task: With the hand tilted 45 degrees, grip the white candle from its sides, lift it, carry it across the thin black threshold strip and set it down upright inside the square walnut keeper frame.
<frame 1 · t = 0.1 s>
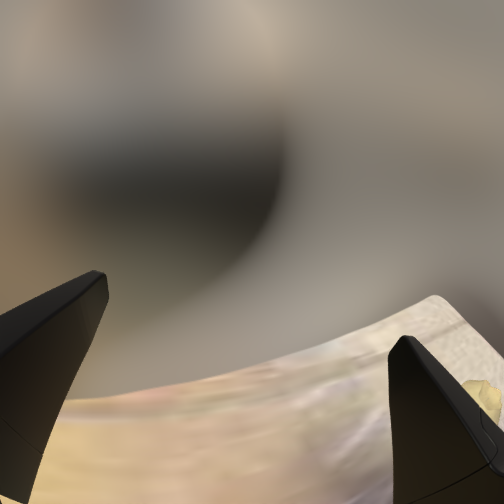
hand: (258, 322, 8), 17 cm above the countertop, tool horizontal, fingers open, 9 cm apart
candle: (419, 451, 19), on the countertop
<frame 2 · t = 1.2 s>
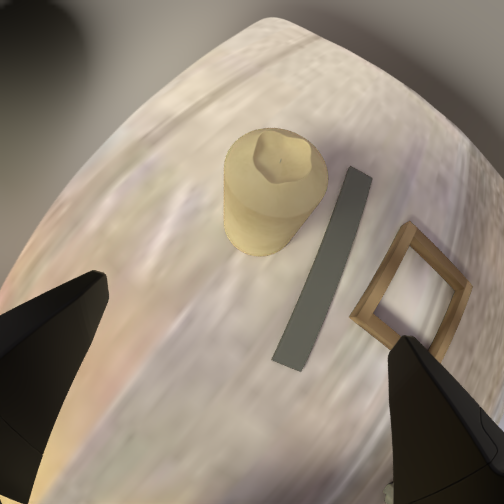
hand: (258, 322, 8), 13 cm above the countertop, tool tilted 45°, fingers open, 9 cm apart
keeper frame: (416, 301, 22), on the countertop
candle: (258, 224, 23), on the countertop
threshold strip: (330, 259, 22), on the countertop
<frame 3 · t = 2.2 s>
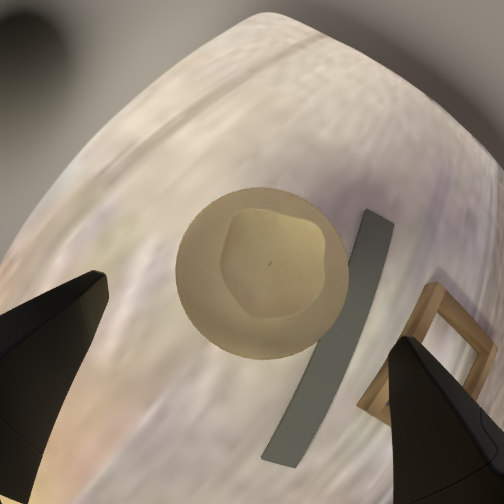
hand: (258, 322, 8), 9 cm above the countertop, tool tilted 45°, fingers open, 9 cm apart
keeper frame: (435, 375, 17), on the countertop
candle: (245, 296, 17), on the countertop
threshold strip: (338, 339, 17), on the countertop
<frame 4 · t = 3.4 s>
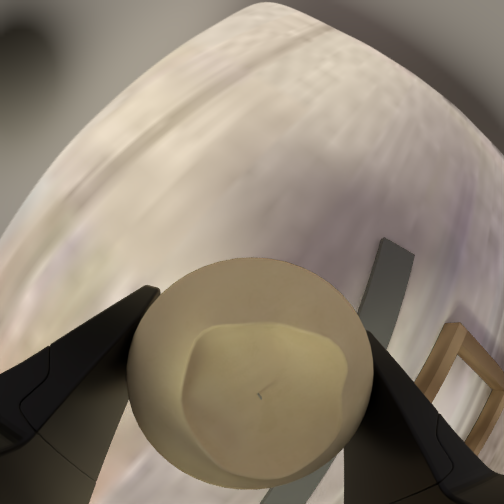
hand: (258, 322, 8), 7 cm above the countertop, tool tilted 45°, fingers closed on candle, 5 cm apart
keeper frame: (447, 418, 13), on the countertop
candle: (237, 348, 14), on the countertop, touching gripper
threshold strip: (344, 393, 14), on the countertop
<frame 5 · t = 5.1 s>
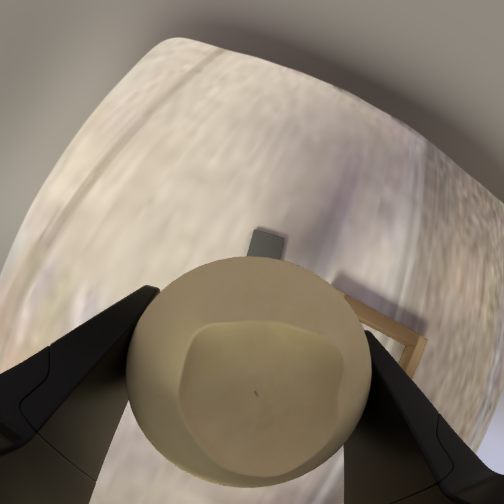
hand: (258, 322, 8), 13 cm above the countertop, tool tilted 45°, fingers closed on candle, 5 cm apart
keeper frame: (351, 372, 20), on the countertop
candle: (238, 347, 14), point 6 cm above the countertop, touching gripper
threshold strip: (237, 350, 20), on the countertop
when the fingers open (8 cm above the countertop, at t = 7.1 s): candle drops 1 cm, resting in keeper frame.
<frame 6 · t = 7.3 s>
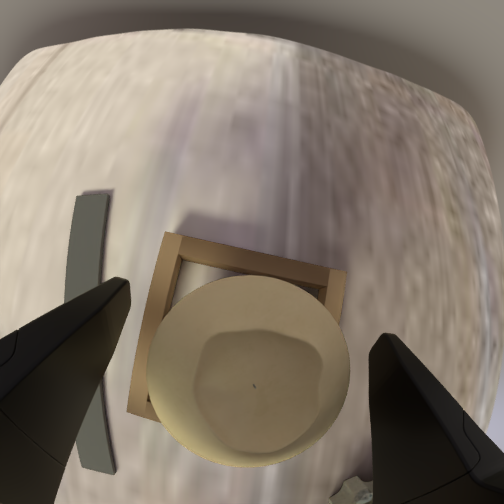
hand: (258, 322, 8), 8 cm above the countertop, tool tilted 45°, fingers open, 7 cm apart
keeper frame: (236, 345, 15), on the countertop
candle: (237, 348, 15), resting in keeper frame
threshold strip: (83, 339, 14), on the countertop
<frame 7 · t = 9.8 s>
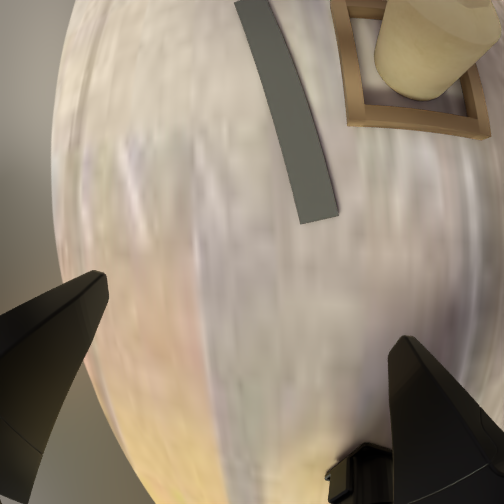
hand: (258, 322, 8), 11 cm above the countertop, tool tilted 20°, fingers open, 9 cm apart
keeper frame: (409, 64, 14), on the countertop
candle: (410, 67, 14), resting in keeper frame
threshold strip: (282, 87, 16), on the countertop
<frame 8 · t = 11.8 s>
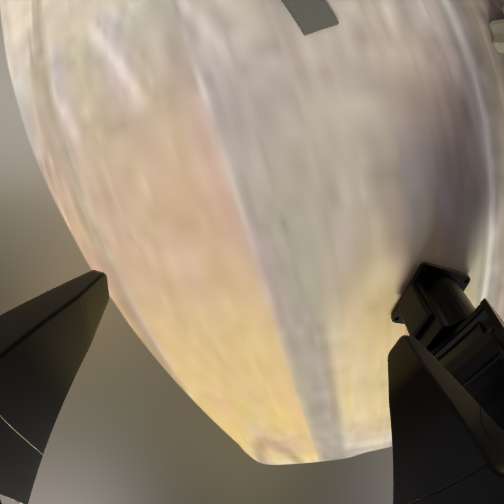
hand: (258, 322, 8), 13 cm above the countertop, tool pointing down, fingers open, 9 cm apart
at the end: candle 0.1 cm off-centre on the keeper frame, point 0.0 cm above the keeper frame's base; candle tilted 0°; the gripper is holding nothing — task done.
